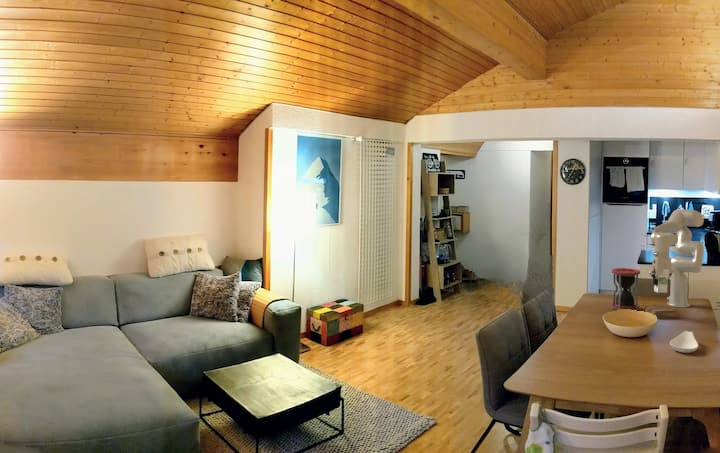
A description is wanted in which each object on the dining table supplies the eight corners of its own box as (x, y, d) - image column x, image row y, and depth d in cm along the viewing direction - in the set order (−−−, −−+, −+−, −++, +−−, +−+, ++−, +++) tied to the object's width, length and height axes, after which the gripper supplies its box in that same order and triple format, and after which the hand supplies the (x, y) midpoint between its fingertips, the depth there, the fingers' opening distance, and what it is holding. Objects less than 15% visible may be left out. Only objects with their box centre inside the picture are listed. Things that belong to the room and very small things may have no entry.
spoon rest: (696, 357, 246) (696, 342, 246) (667, 352, 254) (667, 338, 253) (703, 344, 265) (703, 330, 264) (676, 340, 272) (676, 326, 271)
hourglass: (644, 309, 334) (645, 270, 331) (631, 313, 324) (632, 273, 322) (618, 304, 346) (619, 267, 344) (606, 308, 337) (606, 270, 335)
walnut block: (644, 314, 323) (645, 306, 323) (664, 313, 323) (665, 305, 322) (655, 319, 311) (655, 311, 311) (676, 319, 311) (676, 310, 310)
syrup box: (663, 291, 318) (664, 267, 317) (668, 293, 312) (669, 269, 311) (653, 291, 319) (654, 267, 317) (658, 293, 313) (658, 269, 312)
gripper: (653, 256, 309) (652, 286, 310) (679, 255, 311) (678, 285, 313) (644, 254, 316) (643, 284, 317) (670, 253, 319) (669, 282, 320)
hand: (661, 284), depth 315 cm, fingers closed on syrup box, 6 cm apart
